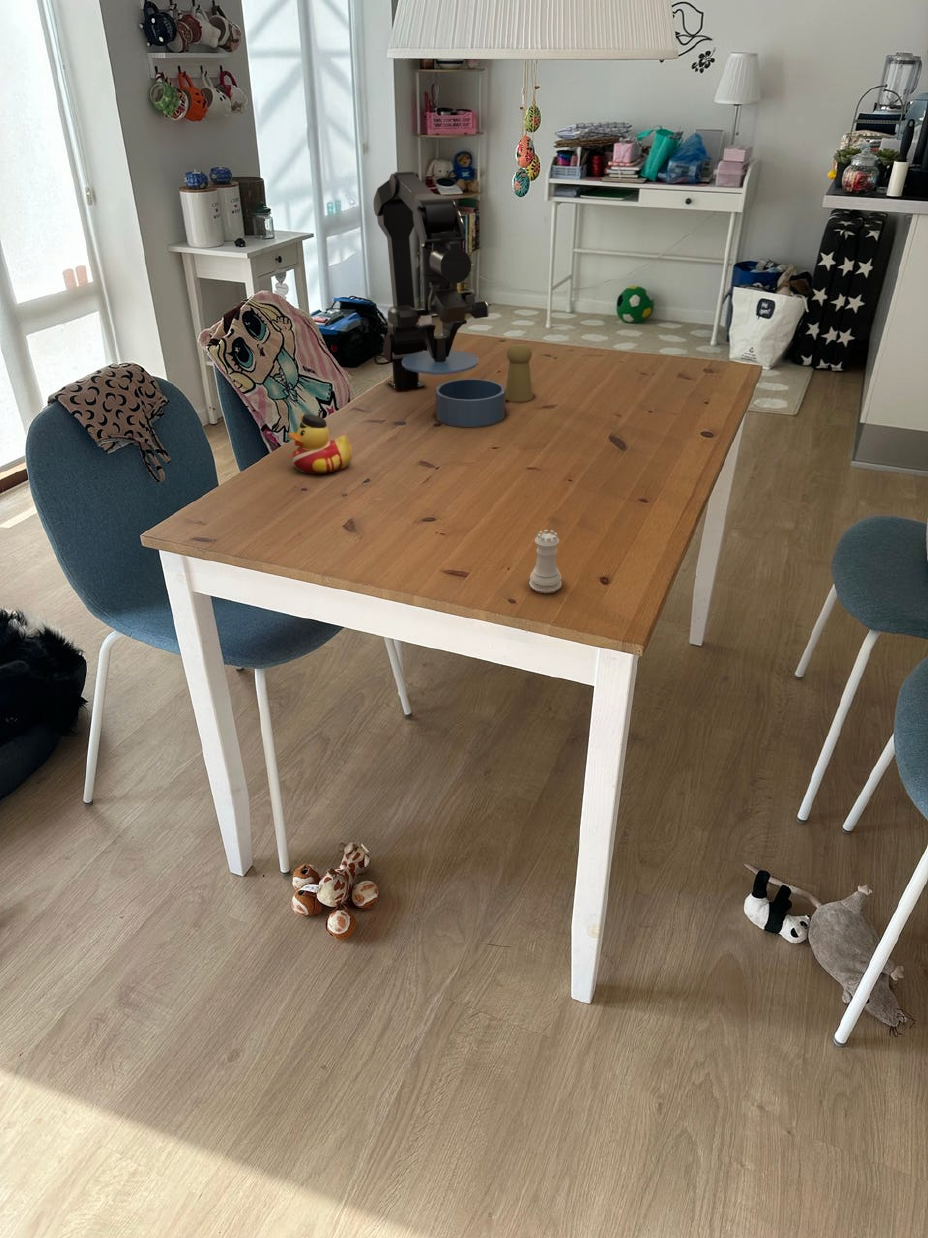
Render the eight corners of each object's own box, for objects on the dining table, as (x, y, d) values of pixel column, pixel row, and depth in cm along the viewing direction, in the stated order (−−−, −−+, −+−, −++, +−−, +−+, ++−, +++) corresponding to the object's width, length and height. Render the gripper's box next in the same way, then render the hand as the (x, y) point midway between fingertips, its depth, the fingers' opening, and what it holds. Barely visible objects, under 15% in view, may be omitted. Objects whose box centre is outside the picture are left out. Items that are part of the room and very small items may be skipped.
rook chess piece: (529, 577, 122) (531, 526, 118) (561, 578, 122) (564, 526, 118) (528, 594, 119) (530, 541, 114) (561, 595, 118) (564, 542, 114)
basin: (426, 409, 183) (425, 384, 180) (487, 400, 187) (487, 375, 185) (452, 431, 172) (451, 404, 169) (516, 420, 176) (516, 394, 174)
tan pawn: (522, 403, 185) (523, 350, 179) (499, 398, 188) (499, 346, 183) (538, 395, 189) (539, 344, 184) (514, 390, 193) (515, 339, 187)
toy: (289, 462, 159) (282, 408, 154) (347, 454, 162) (342, 401, 157) (297, 481, 152) (290, 425, 147) (358, 473, 155) (353, 418, 149)
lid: (390, 361, 175) (389, 332, 172) (459, 351, 180) (459, 323, 177) (419, 381, 164) (417, 351, 161) (491, 370, 169) (491, 341, 166)
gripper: (406, 286, 153) (410, 375, 162) (502, 275, 160) (501, 361, 168) (384, 274, 162) (389, 359, 170) (475, 265, 168) (476, 347, 177)
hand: (439, 357), depth 171 cm, fingers closed on lid, 2 cm apart
